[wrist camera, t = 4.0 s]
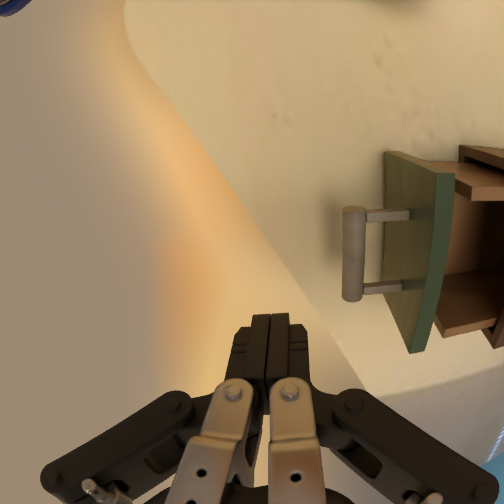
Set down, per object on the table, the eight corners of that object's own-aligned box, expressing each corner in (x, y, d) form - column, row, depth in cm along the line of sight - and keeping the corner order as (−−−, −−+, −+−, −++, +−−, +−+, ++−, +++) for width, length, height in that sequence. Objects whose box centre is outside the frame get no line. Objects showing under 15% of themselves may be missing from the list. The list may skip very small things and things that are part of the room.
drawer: (332, 294, 24) (347, 363, 17) (327, 153, 19) (354, 174, 12) (497, 273, 21) (539, 319, 14) (514, 158, 16) (574, 182, 9)
